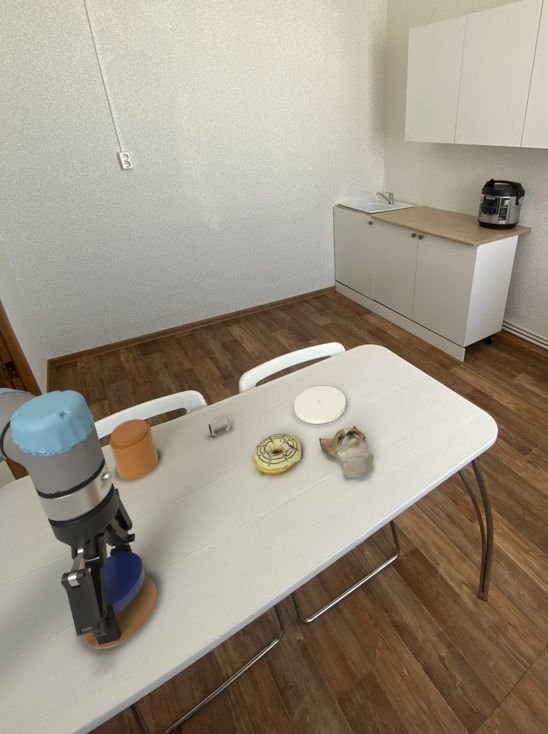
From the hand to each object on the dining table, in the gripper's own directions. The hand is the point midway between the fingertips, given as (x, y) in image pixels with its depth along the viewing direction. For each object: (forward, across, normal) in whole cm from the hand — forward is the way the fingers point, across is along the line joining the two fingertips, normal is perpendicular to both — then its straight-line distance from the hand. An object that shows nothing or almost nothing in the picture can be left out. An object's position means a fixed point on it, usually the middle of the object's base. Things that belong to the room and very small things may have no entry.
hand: (120, 605), depth 60 cm
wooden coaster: (+1, 0, 0) cm, 1 cm away
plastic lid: (+2, +39, -38) cm, 55 cm away
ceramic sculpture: (+2, +20, -42) cm, 46 cm away
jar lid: (-6, 0, 0) cm, 6 cm away
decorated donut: (+2, +24, -26) cm, 35 cm away
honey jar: (+1, +31, +5) cm, 31 cm away
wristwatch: (+2, +37, -12) cm, 39 cm away
